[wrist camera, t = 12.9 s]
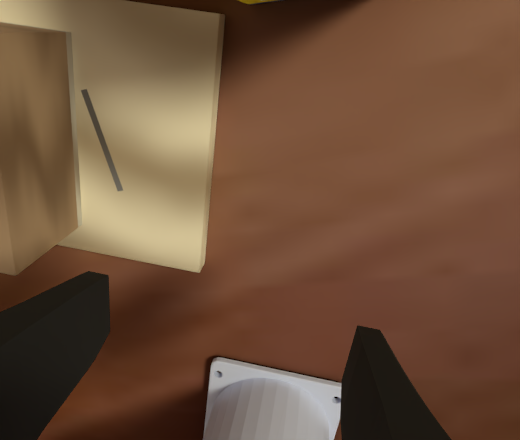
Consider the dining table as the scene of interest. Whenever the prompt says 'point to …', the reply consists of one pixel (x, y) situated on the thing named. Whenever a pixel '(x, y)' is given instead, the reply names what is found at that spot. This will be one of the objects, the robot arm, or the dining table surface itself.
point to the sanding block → (36, 144)
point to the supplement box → (258, 1)
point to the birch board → (140, 123)
